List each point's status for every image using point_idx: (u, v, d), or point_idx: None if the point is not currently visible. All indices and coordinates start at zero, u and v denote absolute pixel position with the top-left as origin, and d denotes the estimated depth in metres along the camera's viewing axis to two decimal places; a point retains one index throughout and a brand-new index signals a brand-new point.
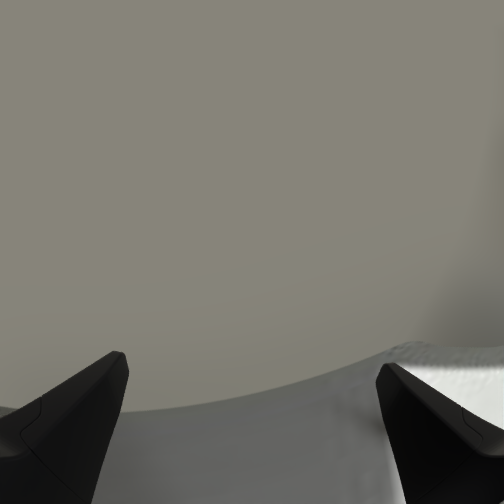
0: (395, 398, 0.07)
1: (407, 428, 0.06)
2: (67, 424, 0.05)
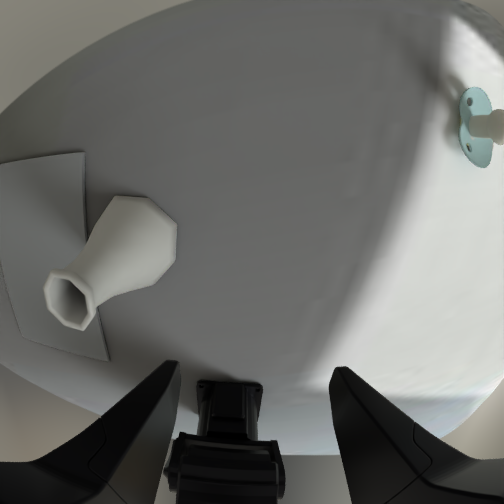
0: (343, 405, 0.07)
1: (354, 439, 0.06)
2: (134, 445, 0.05)
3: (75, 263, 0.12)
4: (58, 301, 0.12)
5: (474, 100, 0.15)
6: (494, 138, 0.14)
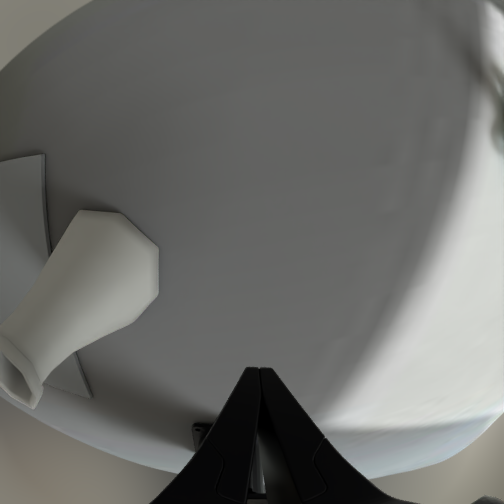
0: (260, 409, 0.07)
1: (266, 446, 0.06)
2: None
3: (15, 317, 0.07)
4: (1, 364, 0.07)
5: None
6: None
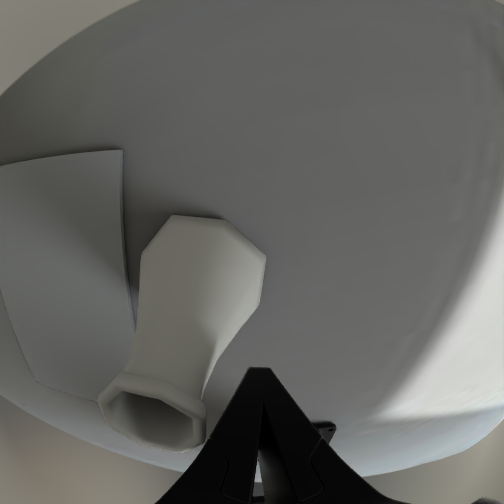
0: None
1: (263, 446, 0.06)
2: None
3: (149, 349, 0.08)
4: (121, 408, 0.07)
5: None
6: None
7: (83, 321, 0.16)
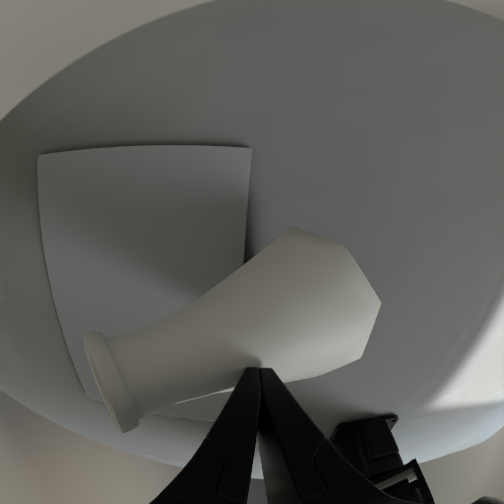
0: (260, 409, 0.07)
1: (266, 446, 0.06)
2: None
3: (145, 333, 0.08)
4: None
5: None
6: None
7: None
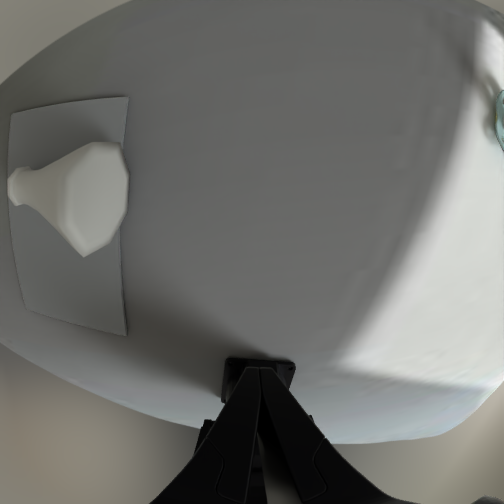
0: (260, 409, 0.07)
1: (266, 446, 0.06)
2: None
3: None
4: None
5: None
6: None
7: None
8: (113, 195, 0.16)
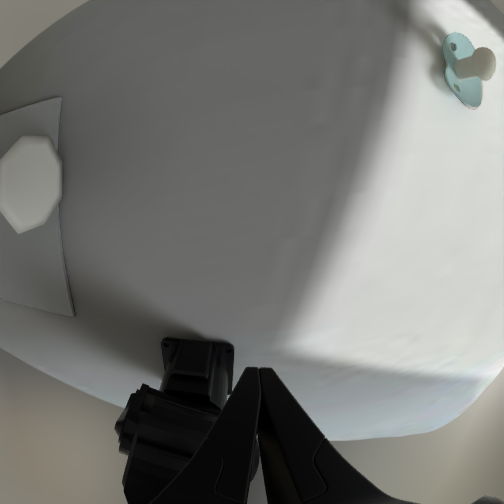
0: (260, 409, 0.07)
1: (266, 446, 0.06)
2: None
3: None
4: None
5: (457, 45, 0.13)
6: (480, 73, 0.12)
7: None
8: (45, 181, 0.16)
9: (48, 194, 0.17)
